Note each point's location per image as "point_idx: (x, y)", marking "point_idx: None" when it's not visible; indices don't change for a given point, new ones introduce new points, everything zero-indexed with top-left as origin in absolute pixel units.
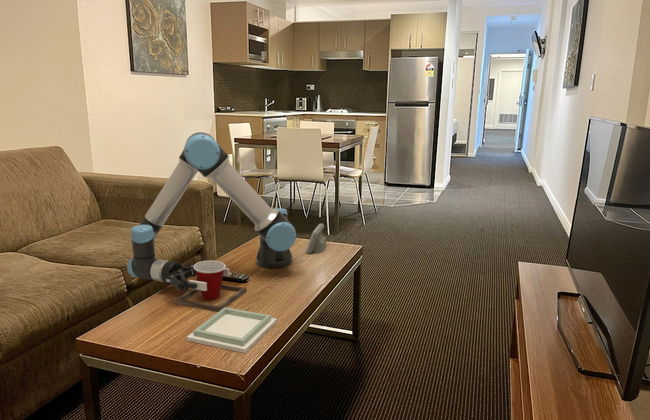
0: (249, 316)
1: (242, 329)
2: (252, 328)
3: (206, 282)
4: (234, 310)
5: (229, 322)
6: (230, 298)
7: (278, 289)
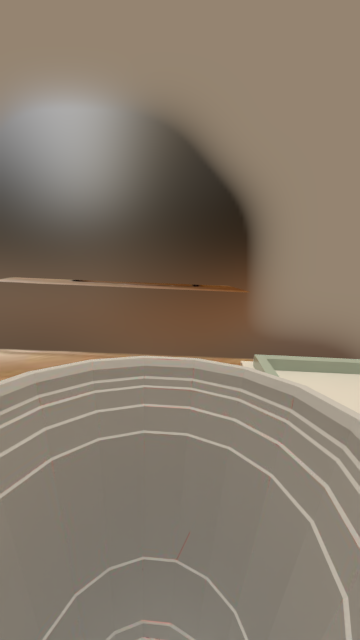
0: None
1: (339, 388)
2: (315, 377)
3: (284, 540)
4: None
5: None
6: None
7: None
